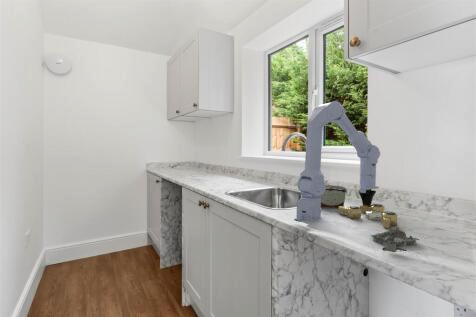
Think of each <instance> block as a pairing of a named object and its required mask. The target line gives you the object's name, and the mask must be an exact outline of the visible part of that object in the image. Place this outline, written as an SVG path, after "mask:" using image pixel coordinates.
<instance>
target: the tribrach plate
mask: <svg viewBox="0 0 476 317" xmlns="http://www.w3.org/2000/svg"><path fill="white" fill-rule="evenodd" d="M365 219H366V220H369V221H375V222H376V221H377V222H381V221H382V217H381V212H378V211H366V212H365Z"/></svg>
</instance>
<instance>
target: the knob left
mask: <svg viewBox="0 0 476 317" xmlns="http://www.w3.org/2000/svg"><path fill="white" fill-rule="evenodd" d="M337 213H338V214H341V215H345V216H347V218H349V219H351V220H361V219H362V212H361V208H360V206H356V205H349V206H347V207H346V206H344V207H343V206H340V207H338V209H337Z"/></svg>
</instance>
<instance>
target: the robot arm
mask: <svg viewBox="0 0 476 317" xmlns="http://www.w3.org/2000/svg"><path fill="white" fill-rule="evenodd" d="M329 123H333V124H336V125H337V126H338V127H340V129H341V130H342V131H343V132H344V133H345V134H346V136H348V142H349V143H350V144H351V145H352V147H353V148H354V149H355V151H356V154H357V158H359V159H360V163H359V184H358V188H359V190H358V194H359V196H360V199H361V202H362V205H367V206H371V205H372V202H373V199H374V197H375V194H376V193H377V191H376V190H375V189H379V188H380V186H378V185H376V181H377V178H376V177H377V164H378V161H379V158H380V156H381V151H380V148H379V147H377V146H376V145H374V144H372V142H371V140H369V139H368V137H367V136H366V135H365V133H364V132H363V131H361V130H357V129H356V127H355V126H354V125H353V123H352V122H351V120H350V119H349V118H348V116H347V114H346V109H345V108H344V106H343V105H342V104H341V102H339V101H336V100H333V101H331V102H326V103H324V104H318V105H316V106H314V107H313V108H312V109H311V113H310V116H309V118H308V120H307V124H306V125H307V127H306V141H305V142H306V143H305V162H304V169H303V171H301V173H300V174H299V179H298V181H297V188H298V190H299V191H300V198H299V199H298V200H297V203H296V218H294V219H293V221H297V222H301V223H303V221H302V220H305V221H309V222H313V221H315V220H319V219H322V218H321V216H322V215H321V213H322V207H321V197H322V195H323V194H324V192H325V189H326V185H327V184H326V183H325V176H324V174H323V172H322V171H321V163H322V162H321V161H322V145H323V132H324V131H323V128H324V127H325V126H326V125H328V124H329ZM299 219H300V220H299Z"/></svg>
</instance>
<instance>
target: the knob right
mask: <svg viewBox="0 0 476 317" xmlns="http://www.w3.org/2000/svg"><path fill="white" fill-rule="evenodd" d="M398 217H399V216H398V214H397V213H396V212H394V211H388V210H386V211H385V210H384V212H383V213H382V217H381V223H382V227H383V228H387V229H389V228H390V227H397V226H398Z"/></svg>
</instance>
